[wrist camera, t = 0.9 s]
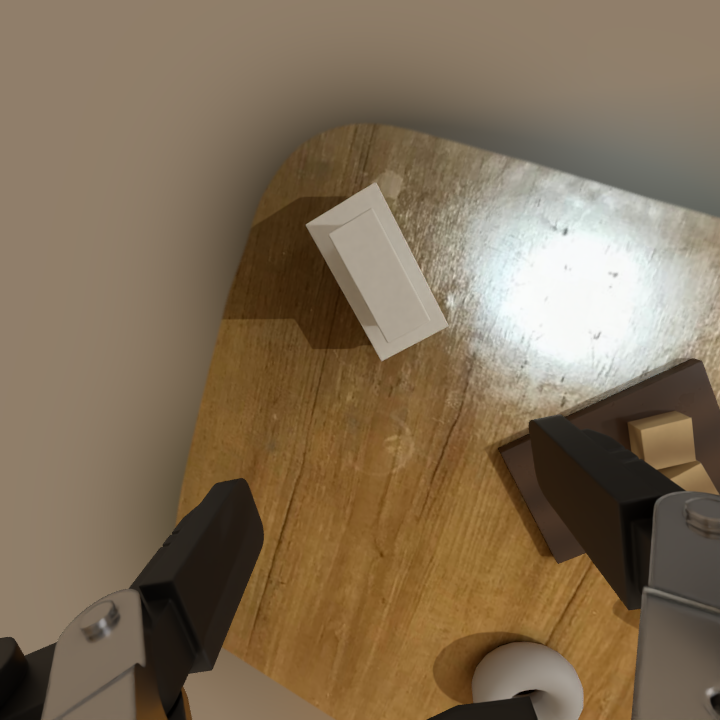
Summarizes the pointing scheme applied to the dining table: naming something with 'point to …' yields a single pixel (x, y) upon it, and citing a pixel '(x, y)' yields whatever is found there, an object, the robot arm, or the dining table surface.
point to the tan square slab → (690, 477)
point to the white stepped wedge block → (377, 272)
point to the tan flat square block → (663, 439)
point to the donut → (530, 680)
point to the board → (624, 439)
